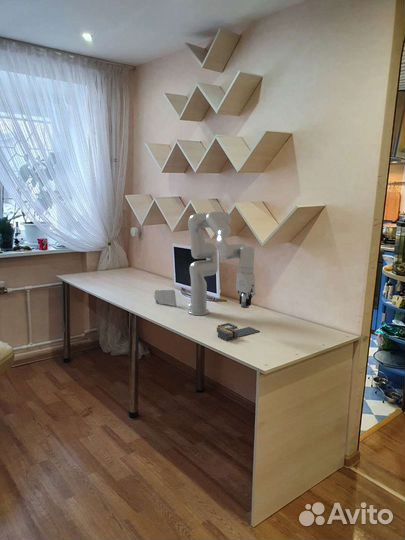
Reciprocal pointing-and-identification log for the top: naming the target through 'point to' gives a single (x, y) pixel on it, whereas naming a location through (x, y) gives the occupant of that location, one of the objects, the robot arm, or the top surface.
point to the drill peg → (244, 300)
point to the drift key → (225, 330)
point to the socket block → (227, 334)
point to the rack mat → (246, 331)
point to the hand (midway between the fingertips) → (245, 304)
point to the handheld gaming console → (165, 296)
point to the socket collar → (229, 325)
